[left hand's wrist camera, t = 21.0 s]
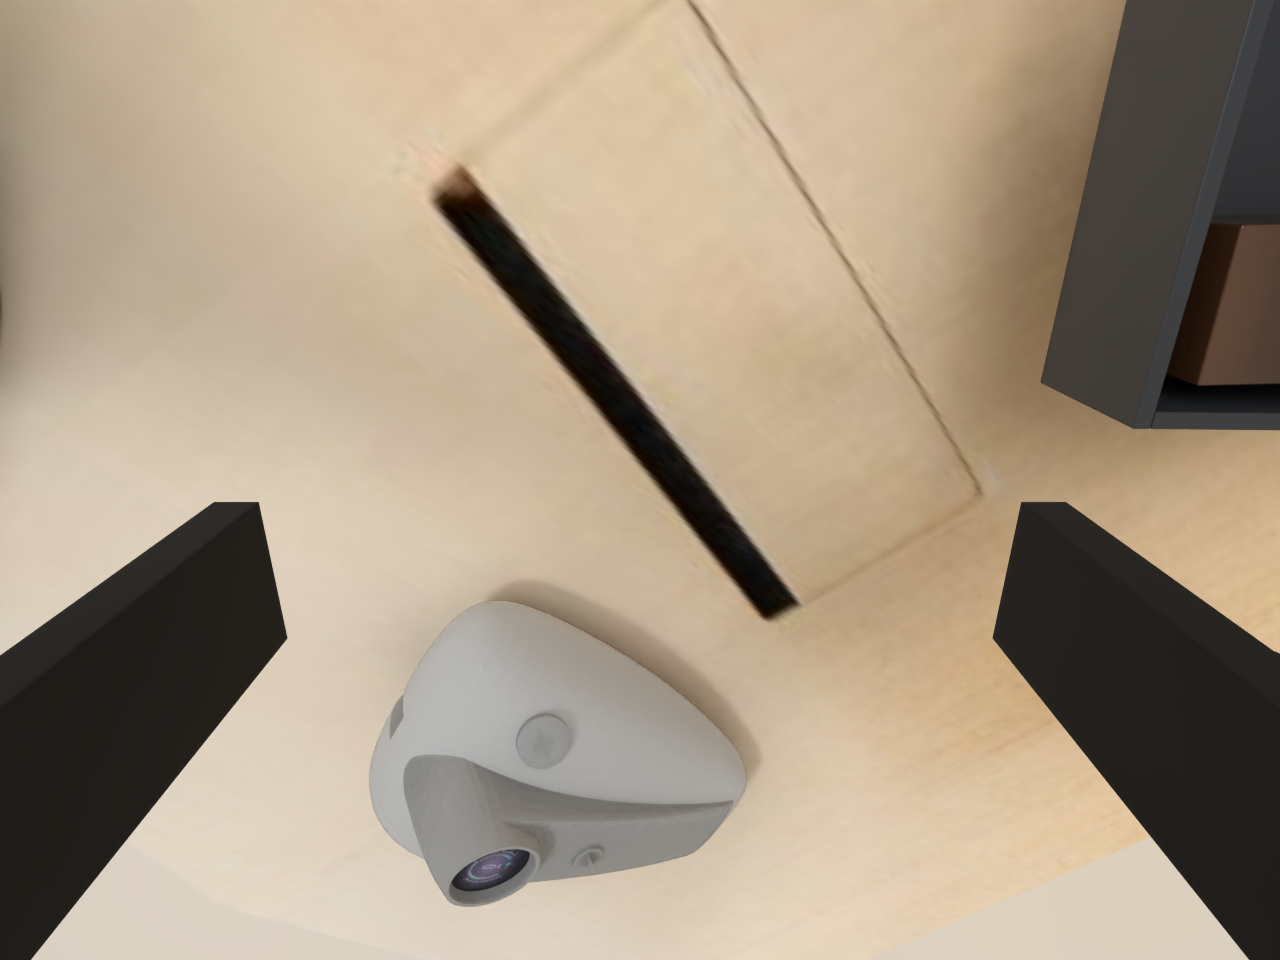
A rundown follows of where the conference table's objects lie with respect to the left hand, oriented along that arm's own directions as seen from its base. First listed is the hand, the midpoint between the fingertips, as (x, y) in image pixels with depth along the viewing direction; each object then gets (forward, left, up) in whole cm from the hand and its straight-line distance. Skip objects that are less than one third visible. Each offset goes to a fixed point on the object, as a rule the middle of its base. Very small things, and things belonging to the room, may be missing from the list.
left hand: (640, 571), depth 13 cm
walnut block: (+21, +3, -17) cm, 27 cm away
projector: (-4, -27, -29) cm, 40 cm away
